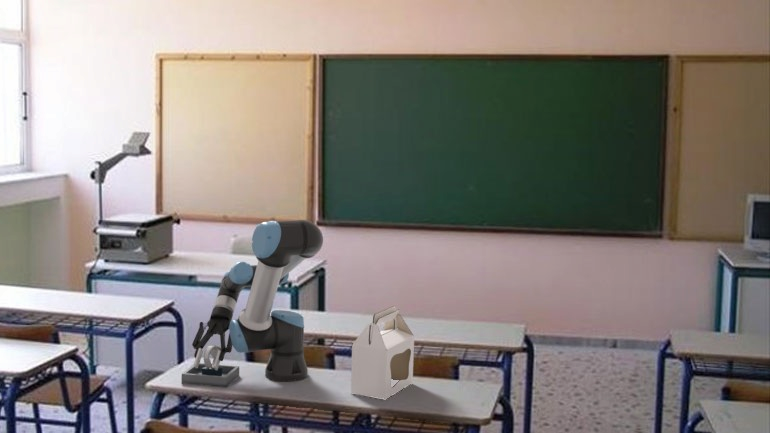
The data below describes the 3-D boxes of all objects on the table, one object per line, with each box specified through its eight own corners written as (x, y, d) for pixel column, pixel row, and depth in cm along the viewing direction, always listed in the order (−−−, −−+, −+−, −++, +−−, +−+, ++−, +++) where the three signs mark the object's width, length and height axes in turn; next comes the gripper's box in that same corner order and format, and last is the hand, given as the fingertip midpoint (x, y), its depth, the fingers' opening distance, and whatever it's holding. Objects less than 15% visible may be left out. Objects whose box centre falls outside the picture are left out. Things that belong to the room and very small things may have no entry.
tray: (239, 375, 335) (239, 366, 334) (225, 387, 321) (226, 377, 321) (196, 372, 338) (196, 362, 337) (181, 383, 324) (181, 373, 323)
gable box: (385, 401, 312) (387, 318, 309) (350, 394, 318) (352, 313, 315) (413, 383, 332) (415, 306, 329) (379, 377, 338) (382, 301, 334)
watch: (224, 374, 333) (224, 343, 331) (213, 380, 325) (213, 349, 324) (210, 372, 334) (210, 342, 333) (199, 378, 327) (198, 347, 326)
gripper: (251, 319, 340) (234, 375, 327) (200, 314, 344) (181, 369, 330) (246, 307, 334) (229, 364, 321) (195, 303, 338) (176, 359, 324)
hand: (205, 367), depth 325 cm, fingers open, 6 cm apart
